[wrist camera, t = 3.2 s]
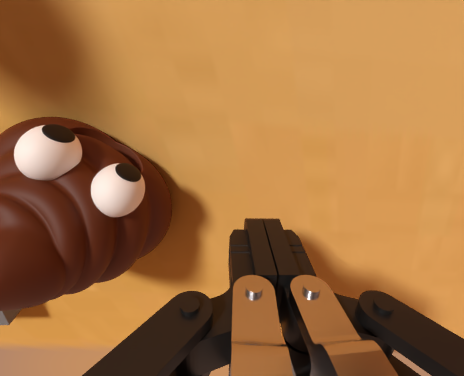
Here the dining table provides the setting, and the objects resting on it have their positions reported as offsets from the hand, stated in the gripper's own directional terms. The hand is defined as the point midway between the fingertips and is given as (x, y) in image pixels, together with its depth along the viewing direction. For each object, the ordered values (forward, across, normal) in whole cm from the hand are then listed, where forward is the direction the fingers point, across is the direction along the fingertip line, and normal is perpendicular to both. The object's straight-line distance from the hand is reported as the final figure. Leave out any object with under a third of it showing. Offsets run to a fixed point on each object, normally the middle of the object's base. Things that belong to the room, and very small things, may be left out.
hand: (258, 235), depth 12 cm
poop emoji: (+6, +9, 0) cm, 11 cm away
